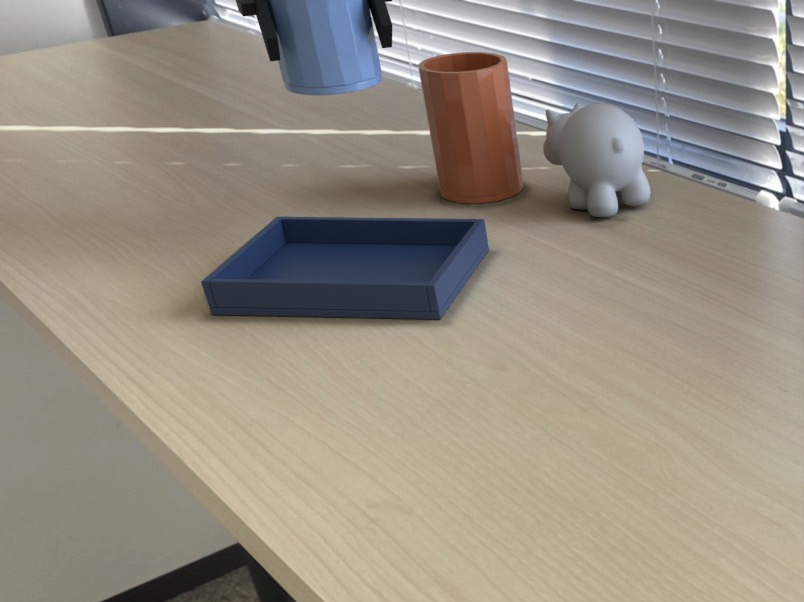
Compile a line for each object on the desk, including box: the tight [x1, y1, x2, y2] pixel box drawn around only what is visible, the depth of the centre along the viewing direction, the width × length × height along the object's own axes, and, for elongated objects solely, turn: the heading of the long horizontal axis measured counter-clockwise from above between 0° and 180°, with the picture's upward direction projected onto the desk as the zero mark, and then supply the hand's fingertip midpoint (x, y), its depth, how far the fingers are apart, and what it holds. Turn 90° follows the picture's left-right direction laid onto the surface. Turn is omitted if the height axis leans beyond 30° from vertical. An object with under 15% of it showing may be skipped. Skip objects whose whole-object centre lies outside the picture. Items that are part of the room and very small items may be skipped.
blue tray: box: [200, 216, 490, 320], centre depth 88 cm, size 17×13×3 cm
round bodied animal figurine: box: [542, 102, 651, 218], centre depth 100 cm, size 7×12×8 cm, turn 39°
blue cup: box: [266, 0, 384, 96], centre depth 87 cm, size 7×7×11 cm
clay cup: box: [417, 51, 524, 205], centre depth 102 cm, size 7×7×11 cm
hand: (331, 42), depth 86 cm, fingers closed on blue cup, 7 cm apart
